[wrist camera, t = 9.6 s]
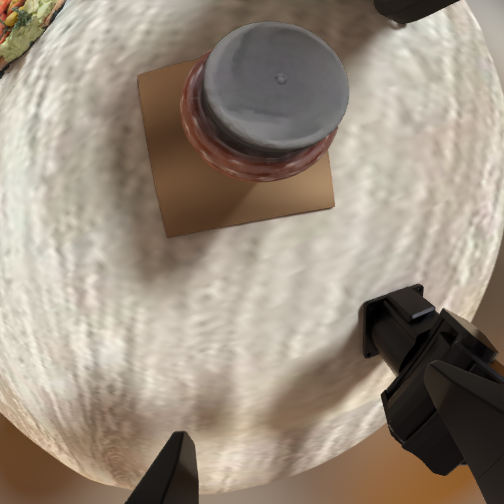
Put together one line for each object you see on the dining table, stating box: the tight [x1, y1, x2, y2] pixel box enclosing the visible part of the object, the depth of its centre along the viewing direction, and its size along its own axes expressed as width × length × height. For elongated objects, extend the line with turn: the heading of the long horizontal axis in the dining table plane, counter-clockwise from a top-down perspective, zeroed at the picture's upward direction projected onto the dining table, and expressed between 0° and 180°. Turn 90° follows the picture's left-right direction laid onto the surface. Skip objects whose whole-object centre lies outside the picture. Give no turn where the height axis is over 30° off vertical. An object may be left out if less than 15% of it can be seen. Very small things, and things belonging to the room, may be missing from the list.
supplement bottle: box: [180, 21, 349, 182], centre depth 11 cm, size 6×6×11 cm
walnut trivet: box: [138, 59, 335, 238], centre depth 17 cm, size 12×12×1 cm
